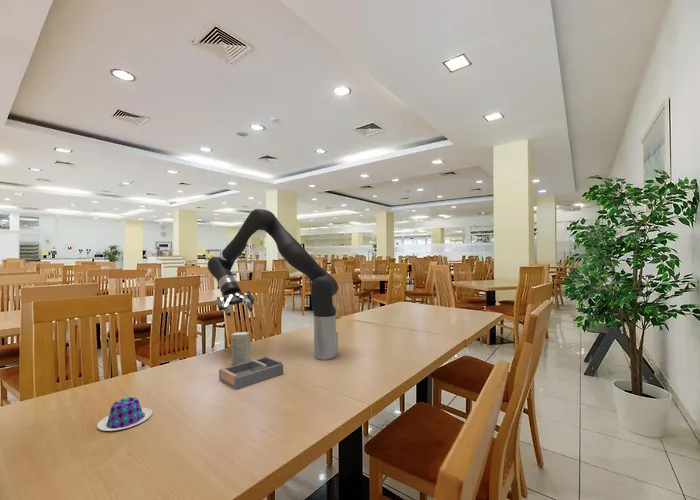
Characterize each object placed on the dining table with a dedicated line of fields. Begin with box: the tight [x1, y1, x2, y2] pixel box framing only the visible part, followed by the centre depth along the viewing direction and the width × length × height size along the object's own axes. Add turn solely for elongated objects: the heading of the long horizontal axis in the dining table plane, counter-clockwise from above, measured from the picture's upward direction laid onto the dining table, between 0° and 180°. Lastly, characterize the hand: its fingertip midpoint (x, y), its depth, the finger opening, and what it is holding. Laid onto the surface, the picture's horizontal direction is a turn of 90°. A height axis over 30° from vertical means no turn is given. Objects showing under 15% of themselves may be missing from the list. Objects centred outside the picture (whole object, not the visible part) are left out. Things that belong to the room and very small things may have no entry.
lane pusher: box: [250, 358, 267, 371], centre depth 118 cm, size 1×9×3 cm, turn 46°
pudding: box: [96, 396, 153, 432], centre depth 87 cm, size 12×12×5 cm
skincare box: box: [230, 331, 252, 366], centre depth 129 cm, size 6×4×12 cm
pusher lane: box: [218, 356, 284, 390], centre depth 116 cm, size 18×12×4 cm, turn 136°
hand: (240, 312), depth 134 cm, fingers open, 8 cm apart
